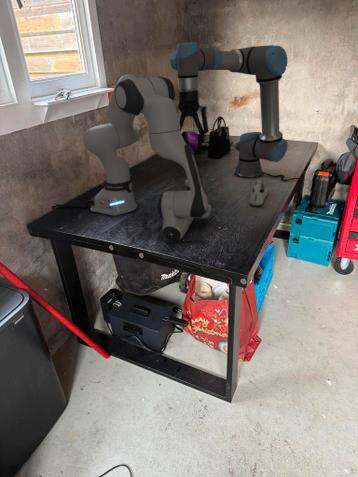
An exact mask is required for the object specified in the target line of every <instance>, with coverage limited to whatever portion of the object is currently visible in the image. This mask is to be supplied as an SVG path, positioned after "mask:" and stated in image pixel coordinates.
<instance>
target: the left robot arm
mask: <svg viewBox="0 0 358 477" xmlns="http://www.w3.org/2000/svg"><path fill="white" fill-rule="evenodd" d="M175 98H176V90H175V86H174V84H173V82H172V81H171V80H170V79H169V78H167V77H163V76H142V77H136V76H135V75H132V74H124V75H122V76H121V77H120V78H119V79H118V81H117V82H116V84H115V86H114V88H113V90H112V92H111V95H110V98H109V101H108V105H107V106H106V112H105V113H106V118H107V120H108V123H105V124H100V125H99V124H98V125H95V126H93V127H90V128H88V129H87V130H85V131H84V133H83V136H82V141H83V146H84V147H85V149H86V150H87V151H88V152H89V153H91V154H93V155H95V156H96V157H97V159H99V161H100V162H101V164H102V167H103V170H104V175H105V180H103V182H102V183H101V186H103V188H102V189H101V190H100V191H99V192H97V194H96V195H94V196H92V197H91V198H90V200H88V201H86V202H85V205H84V206H83V205H79V204H55V205H56V206H54V205H52V206H51V209H54V208H55V207H60V208H61V207H62V208H80V209H87V207H88V205H89V204H90V212H94V213H98V214H103V215H108V216H112V217H113V216H114V217H116V216H119V215H121V214H122V215H123V214H127V213H131V212H133V211H135V210H136V209H137V208H138V205H139V204H138V203H137V200H136V198H135V195H134V190H133V189H134V186H133V180H132V177H131V173H130V172H131V170H130V163H129V162H128V160H127V159H126V158H124V157H122V156H119V155H118V153H117V150H119V149H123V148H128V147H129V146H132V145H133V144H136V143H137V142H138V141H139V137H140V131H139V127H138V126H137V125H136V123H135V122H134V120H135V118H136V117H138V116H140V114H142V115H143V116H144V117H145V118H146V123H147V131H148V139H149V143H150V147H151V149H152V150H153V152H154V153H155V154H156V155H158V156H159V157H160V158H162V159H166V160H168V161H171V162H174V163H176V164H179V165H180V166H181V167H182V168H183V170H184V172H185V175H186V178H187V179H188V182H189V186H190V189H191V190H190V191H187V190H167V191H163V193H161V195H160V197H159V198H158V201H157V212H158V214H159V217H160V219H161V220H162V228H161V232H162V236H163V237H164V238H165V239H166V240H168V241H173V242H176V241H180V240H181V239H182V238H183V237H184V236H185V235H186V233H187V231H188V230H189V227H190V226H191V224H192V222H193V220H194V219H200V220H203V219H207V218H209V217H210V215H211V214H212V205H211V204H209V201H208V196H207V193H206V190H205V188H204V185H203V181H202V177H201V173H200V170H199V165H198V162H197V158H196V159H195V157H196V155H195V156H194V154H195V152H194V153H193V150H192V148H191V146H189V145H187V144H186V143H185V141H184V140H183V138H182V135H181V134H182V130H181V131H180V123H179V121H180V117H179V113H177V110H176V106H177V105H176V103H175ZM187 179H186V180H187Z"/></svg>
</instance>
